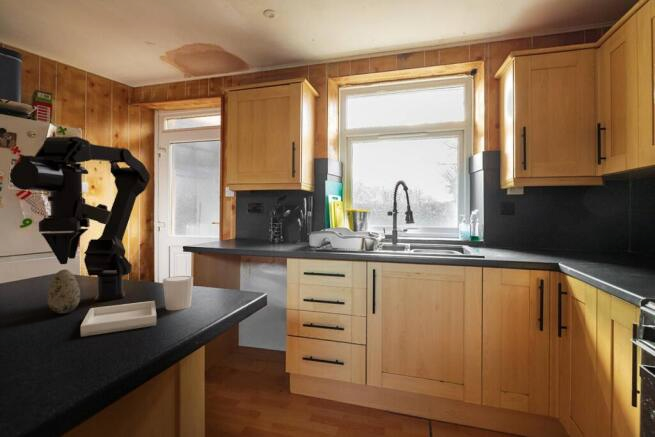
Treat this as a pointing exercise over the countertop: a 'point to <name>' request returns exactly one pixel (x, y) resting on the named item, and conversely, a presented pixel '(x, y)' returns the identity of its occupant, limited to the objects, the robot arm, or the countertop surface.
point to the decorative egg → (63, 292)
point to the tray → (119, 318)
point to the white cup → (178, 292)
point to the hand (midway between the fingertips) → (68, 261)
